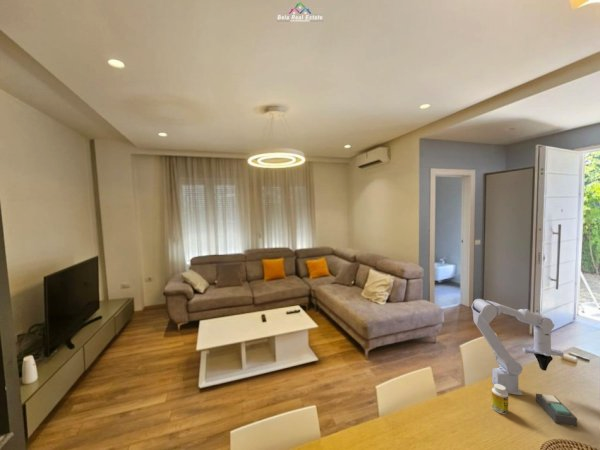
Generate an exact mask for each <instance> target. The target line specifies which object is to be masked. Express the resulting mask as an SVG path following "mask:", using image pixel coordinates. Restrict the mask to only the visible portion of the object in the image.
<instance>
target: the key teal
mask: <svg viewBox="0 0 600 450" xmlns="http://www.w3.org/2000/svg"><path fill="white" fill-rule="evenodd" d="M563 405H564V404H563ZM563 405H560V404H553V403H550V407H551V408H552V409H553V410H554V411H555V412H556V413H559V414H566V415H570V412H571V411H570V410H569V409H568V408H567V407H566V406H565V405H564V406H565V407H566V408H567V409H568V410H569V411H570V412H569V411H568V410H567V409H566V408H565V407H564V406H563Z"/></svg>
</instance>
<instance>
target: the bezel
mask: <svg viewBox="0 0 600 450" xmlns="http://www.w3.org/2000/svg"><path fill="white" fill-rule="evenodd" d="M553 396H554V397H555V398H556V399H557V400H558V401H559V402H560V405H563V406H564V407H565V408H566V409H567V410H568V411H569V412H570V415H566V414H559V413H556V412H555V411H554V410H553V409H552V408H551V407H550V404H549V403H547V402H546V401H545V400H544V399H543V398H542V393H535V400H536V399H537V400H538V402H539V403H540V404H541V405H542V406H543V407H544V408H545V410H546V411H547V412H548V413H549V414H550V415H551V416H552V417H553V419H554V420H555V421H560V422H567V423H573V424H577V425H578V418H577V417H576V415H574V413H572V412H571V411H570V410H569V409H568V407H566V405H565V404H564V403H563V402H561V401H560V400H559V398H558V397H557V396H556V395H553Z"/></svg>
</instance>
